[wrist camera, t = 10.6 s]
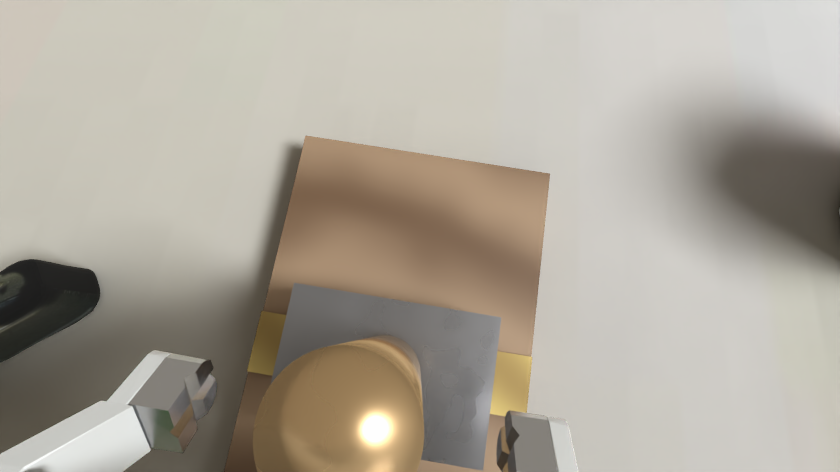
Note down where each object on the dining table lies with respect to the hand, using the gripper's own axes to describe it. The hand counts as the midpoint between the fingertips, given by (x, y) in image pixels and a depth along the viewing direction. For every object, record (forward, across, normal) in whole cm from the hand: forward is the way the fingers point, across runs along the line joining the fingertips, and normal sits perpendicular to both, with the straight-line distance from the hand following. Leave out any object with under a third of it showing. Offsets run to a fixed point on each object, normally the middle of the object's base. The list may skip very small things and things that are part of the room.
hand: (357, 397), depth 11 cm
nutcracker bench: (+9, 0, +8) cm, 12 cm away
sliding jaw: (+7, 0, +7) cm, 9 cm away
